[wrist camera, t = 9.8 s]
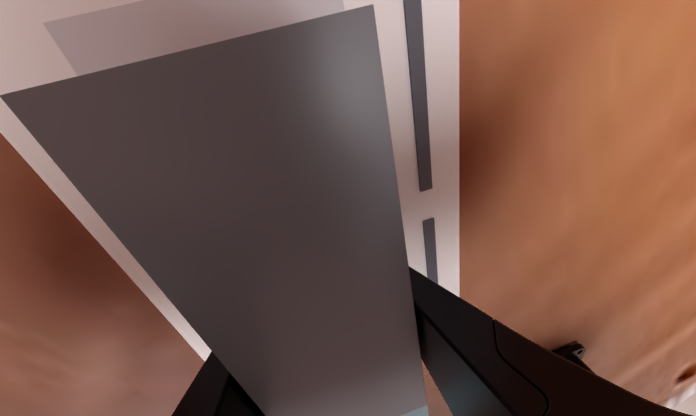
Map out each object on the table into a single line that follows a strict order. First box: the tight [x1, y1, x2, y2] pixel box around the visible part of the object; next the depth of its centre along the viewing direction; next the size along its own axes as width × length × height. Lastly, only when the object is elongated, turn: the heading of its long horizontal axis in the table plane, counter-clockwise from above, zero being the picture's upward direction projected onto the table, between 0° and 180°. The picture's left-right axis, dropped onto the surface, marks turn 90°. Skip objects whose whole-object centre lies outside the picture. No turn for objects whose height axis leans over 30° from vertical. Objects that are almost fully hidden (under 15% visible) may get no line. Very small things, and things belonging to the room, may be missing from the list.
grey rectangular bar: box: [0, 4, 429, 416], centre depth 8 cm, size 4×13×4 cm, turn 12°
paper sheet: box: [0, 0, 459, 361], centre depth 11 cm, size 13×19×1 cm
